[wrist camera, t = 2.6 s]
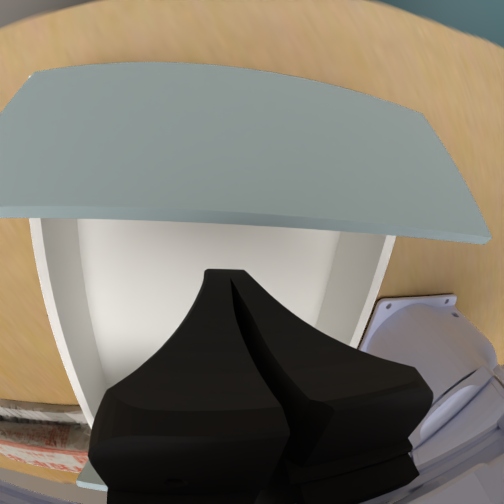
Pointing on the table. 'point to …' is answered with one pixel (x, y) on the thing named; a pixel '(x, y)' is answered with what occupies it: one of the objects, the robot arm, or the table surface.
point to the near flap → (227, 153)
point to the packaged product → (44, 434)
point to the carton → (187, 284)
